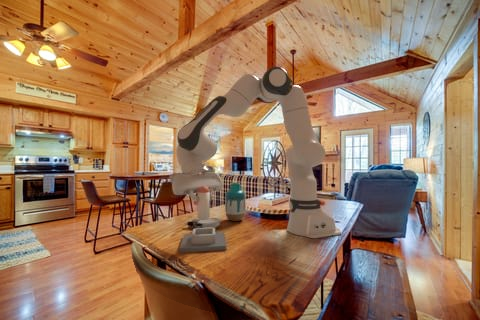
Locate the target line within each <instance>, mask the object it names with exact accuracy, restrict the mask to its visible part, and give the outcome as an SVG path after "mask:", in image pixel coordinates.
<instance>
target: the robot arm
mask: <svg viewBox="0 0 480 320" xmlns="http://www.w3.org/2000/svg"><path fill="white" fill-rule="evenodd" d="M293 83H294V82H293V80H292V79H291V77H290V75H289V73H288V72H287V71H286V70H285V68H283V67H281V66H276V65H275V66H272V67H270V68H269V69H267V70H266V71H265V72H264V74H263V76H262V78H259V77H256V76H255V75H254V74H251V73H245V74H243V75H242V76H241V77H240V78H239V79H238V80H237V81H236V82H235V83H234V84H233V85H232V86H231V87H230V89H229V90H228V92H226V93H225V94H224V95H218V96H217V97H215V98H213V99H212V100H211V101H210V102H209V103H207V104H206V106H204V108H202V109H201V110H200V111H199V113H197V115H195V117H193V119H191V120H190V121H189V122H187V124H185V125H183V126H182V127H181V128H180V129H179V131H178V132H177V143H178V145H177V146H176V149H175V151H176V152H175V153H176V158H177V161H178V165H179V166H180V168H181V169H180V171H181V172H179V173H176V172H175V173H172V174H169V176H168V179H169V181H170V182H171V189H172V193H173V195H175V196H181V195H182V196H183V195H188V197H190V198H191V199H192V200H193V202H194V203H198V202H199V196H198V195H196V194H198V189H199V188H200V187H201V186H206V187H208V188H209V191H210V201H213V200H214V196H213V193H214V192H219V191H222V189H223V187H224V182H223V180H222V178H221V176H220V175H219V173H218V172H216V167H214V166H211V165H208V164H204V163H206V162H207V161H209V160H210V159H212V158H213V157H214V156H215V155H216V153H217V150H218V143H217V142H216V141H215V140H214V139H213V138H212V137H211V136H209V135H208V134H206V133H205V132H204V129H206V127H207V126H208V125H209V124H210V123H211V122H213V120H215V118H216V117H218V116H220V115H224V116H228V117H231V118H237V117H238V118H239V117H242V116H243V115H244V114H245V113H246V112H247V111H248V109H249V108H250V107H251V105H252V104H253V103H254V102H255V100H256V101H260V102H262V103H265V104H272V103H275V102H276V101H277V102H278V103H279V104H280V107H281V111H282V118H283V123H284V127H285V128H284V129H285V132H286V134H287V135H288V137H289V139H290V142H291V144H292V145H290V146H289V147H288V148H287V150H286V151H285V158H286V162H287V167H288V173H289V181H290V183H289V184H290V197H289V204H288V205H289V218H288V223H287V226H286V227H287V228H286V230H287V231H288V232H289V233H291V234H292V235H293V234H294V235H296V236H301V237H307V238H309V239H317V238H319V239H320V238H325V237H331V236H332V235H333V236H339V235H342V231H341V229H340V228H339V227H337V226H336V222H335V219H334V217H333V216H332V215H330V213H329V212H327V211H325V209H323V208H322V207H324V206H325V205H326V201H325V200H319V198H318V194H317V193H318V191H317V190H318V189H317V188H318V187H317V186H318V184H317V179H316V177H315V175H314V170H313V168H314V167H318V166H319V165H321V164H322V163H323V162H324V161H325V159H326V149H325V147H324V146H323V145H322V144H321V143H320V142H319V140H318V138H317V136H316V133H315V130H314V129H313V124H312V121H311V116H310V109H309V104H308V101H307V99H306V95H305V92H304V90H303V88H302V86H299V85H297V84H296V85H293ZM333 236H332V237H333Z"/></svg>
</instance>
